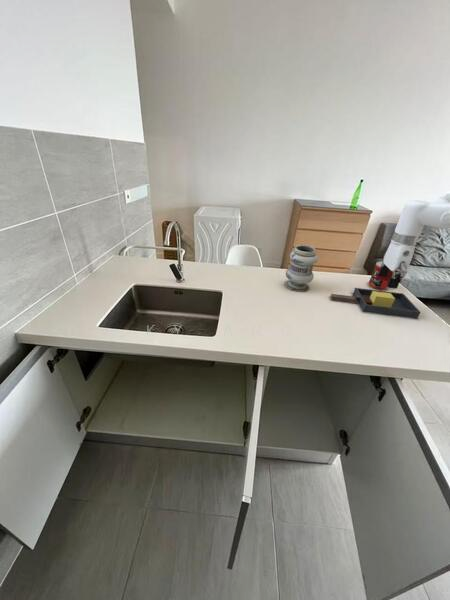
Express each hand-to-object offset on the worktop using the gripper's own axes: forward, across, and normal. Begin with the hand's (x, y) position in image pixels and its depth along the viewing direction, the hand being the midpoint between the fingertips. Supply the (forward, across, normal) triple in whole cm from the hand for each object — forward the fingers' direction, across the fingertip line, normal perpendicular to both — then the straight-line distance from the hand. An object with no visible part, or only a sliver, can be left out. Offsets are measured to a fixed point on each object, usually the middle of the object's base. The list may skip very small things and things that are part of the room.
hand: (386, 281), depth 94 cm
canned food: (+11, +18, -6) cm, 22 cm away
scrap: (+10, 0, +5) cm, 11 cm away
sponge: (+10, 0, -1) cm, 10 cm away
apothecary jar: (+10, +8, +32) cm, 34 cm away
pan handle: (+10, 0, +13) cm, 17 cm away
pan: (+11, 0, -2) cm, 11 cm away
